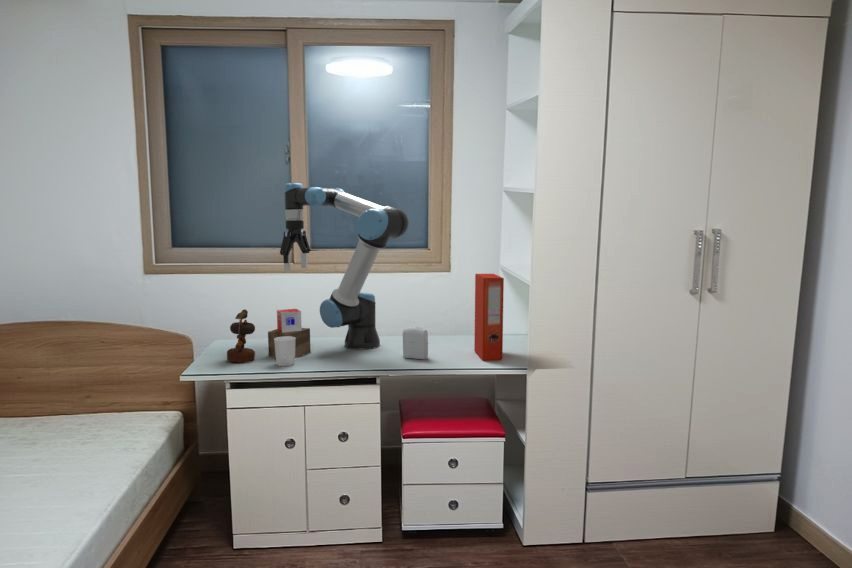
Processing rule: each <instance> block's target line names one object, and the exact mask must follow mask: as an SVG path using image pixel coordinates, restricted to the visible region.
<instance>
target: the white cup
mask: <svg viewBox="0 0 852 568" xmlns="http://www.w3.org/2000/svg"><path fill="white" fill-rule="evenodd" d="M295 341H296V338H295V337H291V336H283V337H277V338H274V343H275V355H276V357H275V362H276V365H277V366H279V367H290V366H294V365H295V364H296V363H295V361H296V358H295Z"/></svg>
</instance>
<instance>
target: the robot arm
mask: <svg viewBox="0 0 852 568" xmlns="http://www.w3.org/2000/svg"><path fill="white" fill-rule="evenodd" d="M304 206H306V207H307V206H308V207H309V206H311V207H312V206H313V207H317V206H320V207H321V206H322V207H326V206H327V207H328V206H329V207H333V208H336V209H339V210H341V211H343V212H345V213H349V214H351V215H353V216H356V217H358V219H357V223H356V227H357V229H356V230H357V238H358V243H357V245H356V247H355V250H354V252H353V255H352V256H351V258H350V261H349V263H348V265H347V268H346V270H345V272H344V275H343V277H342V279H341V281H340V282H339V283H340V284H339V286H338V287H337V288H335V289H333V290H332V292H331V294H330V296H329V299H328V298H327V299H325V300H323V301H322V302H321V303H320V305H319V314H320V319H321V320H322V322H323V324H324V325H326V326H327V327H329V328H334V329H335V328H341V327H344V326H348V328H347V332H346V335H345V339H344V347H345V348H346V347H347V349H350V348H351V350H368V349H369V348H370V349H375V348H374V347H376V348H378V347H380V346H379V345H381V340H380V337H379V334H378V331H377V328H376V305H377V303H376V296H375V295H374V294H373V293H369V292H361V291H362V289H363V287H364V284H365V282H366V280H367V278H368V276H369V274H370V271H371V269H372V267H373V264H374V262H375V260H376V259H377V257H378V254H379V252H380V250H383V249H385V248H386V247H387V244H388V242H389V240H390V239H396V238H397V239H398V238H400V237H402V236H403V235H405V233H406V232H407V231H408V229H409V221H410V220H409V217H408V216H407V214H406V213H405V211H403V210H402V209H399V208H396V207H393V206H390V205H386V206H383V205H380V204H377V203H375V202H372V201H370V200H366V199H365V198H361V197H358V196H355V195H353V194H351V193H348V192H345V191H344V189H342V188H339V187H320V186H319V187H318V186H312V187H304V185H303V183H301V182H300V183H299V182H295V183H293V182H292V183H291V182H288V183H285V185H284V207H285V210H284V211H285V219H286V220H285V229H286V230H288V231H283V238H282V242H281V245H280V246H281V247H280V250H279V255H281V256H283V271H284V272H291V255H290V253H291V251H292V248H293V246H294V244H295V243H297V245H298V248H299V250H300V251H301V252H300V265H301V266H300V268H301V269H308V254H310V251H311V248H310V245H309V241H308V239H307V238H308V237H307V232H306V230H303V229H304V227H305V226H304V225H305V224H304V222H305V221H304V220H303V219H304V217H305V216H304ZM377 346H378V347H377ZM370 349H369V350H370Z"/></svg>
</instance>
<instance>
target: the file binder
mask: <svg viewBox="0 0 852 568" xmlns="http://www.w3.org/2000/svg"><path fill="white" fill-rule="evenodd" d="M474 276H475V277H474V280H475V281H474V283H475V284H474V288H475V289H474V344H473V345H474V347H473V349H474V352H475V353H476V355H477V356H478V357H479V358H480V360H481V361H483V362H488V361H489V362H491V361H495V362H497V361H502V360H503V350H504V349H503V347H504V346H503V345H504V344H503V341H504V339H503V337H504V336H503V335H504V334H503V332H504V289H505V288H504V284H505V283H504V282H505V281H504V279H505V278H504V277H502V276H500V275H498V274H495V273H475V275H474Z"/></svg>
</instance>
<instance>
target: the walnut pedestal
mask: <svg viewBox="0 0 852 568" xmlns="http://www.w3.org/2000/svg"><path fill="white" fill-rule="evenodd" d="M283 336H291V337H295V338H296V341H295V359H297V358H299V357H303V356H305V355H308V354H310V353H311V328H310V327H309V328H308V327H302V331H294V332H281V331H279V330H278V329H277V328H276V329H273V330H270V331H267V341H268V342H267V344H268V357H269V356H270V358H276V355H275V343H274V338H277V337H283ZM307 353H308V354H307Z"/></svg>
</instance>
